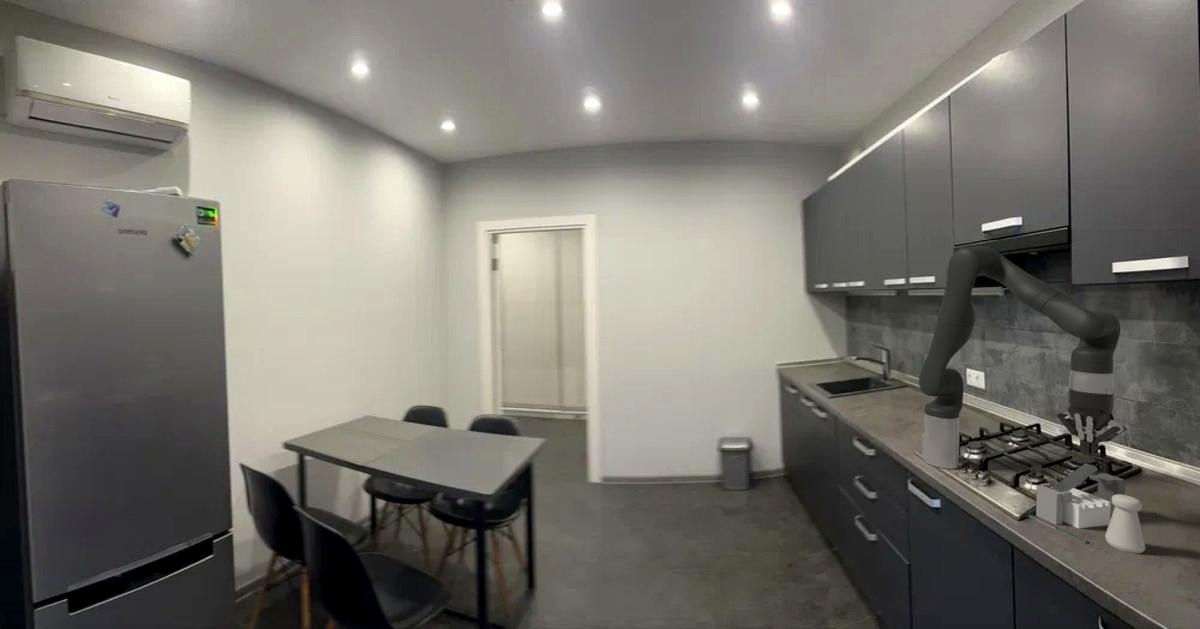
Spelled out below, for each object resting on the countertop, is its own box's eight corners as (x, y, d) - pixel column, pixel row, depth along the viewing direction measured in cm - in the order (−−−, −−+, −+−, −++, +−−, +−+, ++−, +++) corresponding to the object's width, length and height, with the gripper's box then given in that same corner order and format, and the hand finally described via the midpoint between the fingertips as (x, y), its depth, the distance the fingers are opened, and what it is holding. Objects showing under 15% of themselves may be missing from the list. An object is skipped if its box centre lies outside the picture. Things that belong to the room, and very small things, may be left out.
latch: (1088, 509, 112) (1089, 474, 111) (1103, 508, 112) (1104, 473, 111) (1108, 517, 108) (1109, 481, 107) (1123, 516, 108) (1125, 479, 107)
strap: (1047, 493, 109) (1045, 489, 109) (1084, 466, 110) (1082, 461, 110) (1062, 499, 106) (1060, 495, 106) (1100, 471, 107) (1098, 466, 107)
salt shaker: (1135, 562, 93) (1137, 505, 92) (1098, 547, 98) (1100, 493, 98) (1151, 556, 95) (1153, 500, 94) (1114, 542, 100) (1115, 489, 99)
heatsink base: (1012, 509, 116) (1012, 475, 115) (1077, 501, 118) (1078, 469, 118) (1084, 543, 100) (1086, 505, 99) (1158, 534, 102) (1160, 496, 102)
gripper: (1047, 384, 113) (1046, 446, 114) (1112, 396, 100) (1110, 466, 101) (1071, 382, 114) (1070, 444, 115) (1139, 394, 101) (1136, 464, 102)
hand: (1088, 454), depth 108 cm, fingers closed
